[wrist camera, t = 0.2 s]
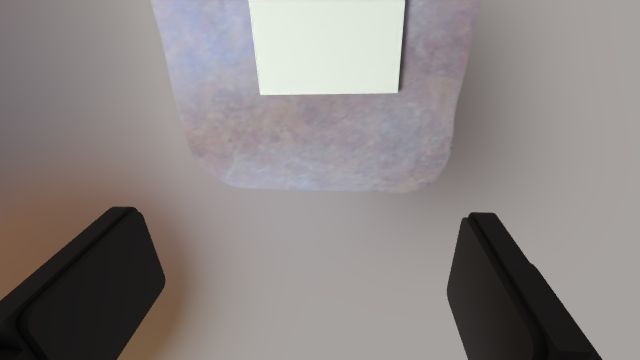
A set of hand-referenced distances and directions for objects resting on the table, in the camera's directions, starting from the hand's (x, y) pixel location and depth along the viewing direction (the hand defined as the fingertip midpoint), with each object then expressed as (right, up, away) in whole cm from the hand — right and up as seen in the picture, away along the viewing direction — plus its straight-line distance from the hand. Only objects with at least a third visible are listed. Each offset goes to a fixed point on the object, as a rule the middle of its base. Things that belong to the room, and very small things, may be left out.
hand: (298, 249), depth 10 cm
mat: (+1, +19, +24) cm, 31 cm away
